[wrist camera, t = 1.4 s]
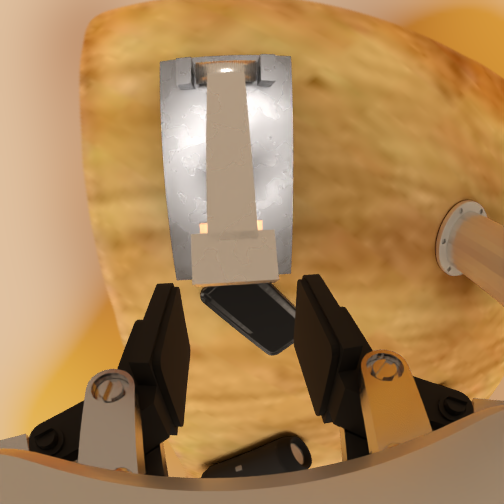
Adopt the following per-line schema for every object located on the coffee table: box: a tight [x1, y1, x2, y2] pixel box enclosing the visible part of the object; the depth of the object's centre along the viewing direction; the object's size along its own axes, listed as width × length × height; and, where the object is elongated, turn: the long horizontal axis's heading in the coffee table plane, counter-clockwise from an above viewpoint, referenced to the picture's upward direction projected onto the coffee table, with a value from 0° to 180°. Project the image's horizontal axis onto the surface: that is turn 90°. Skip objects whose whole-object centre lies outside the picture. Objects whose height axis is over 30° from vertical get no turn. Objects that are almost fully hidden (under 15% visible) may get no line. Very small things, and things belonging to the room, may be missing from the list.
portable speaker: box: [201, 436, 312, 478], centre depth 50 cm, size 26×10×10 cm, turn 130°
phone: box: [200, 283, 296, 355], centre depth 38 cm, size 8×1×15 cm
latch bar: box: [191, 60, 279, 287], centre depth 19 cm, size 18×5×2 cm
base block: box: [160, 54, 293, 280], centre depth 27 cm, size 22×12×8 cm, turn 1°
